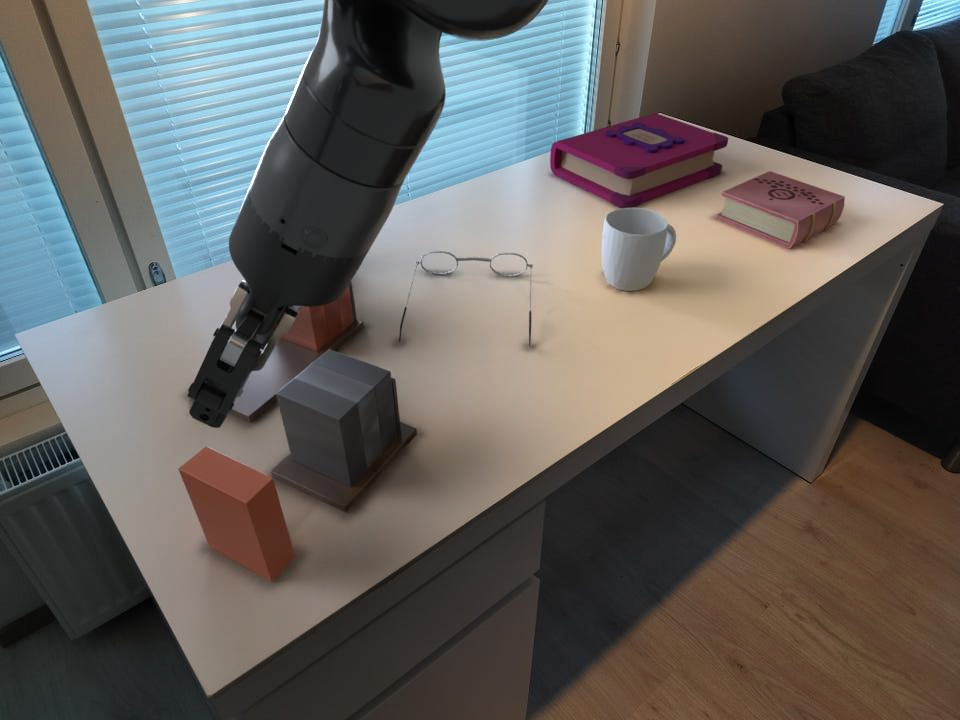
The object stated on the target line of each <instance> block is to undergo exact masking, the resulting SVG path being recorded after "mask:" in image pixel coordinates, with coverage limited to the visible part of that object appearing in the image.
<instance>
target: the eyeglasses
mask: <svg viewBox="0 0 960 720" xmlns="http://www.w3.org/2000/svg"><path fill="white" fill-rule="evenodd" d="M429 254H446V255H449V256H452V258H454V260H455V261H456V266H455V267H454V268H453V269H452V270H449V271H444V272H437V271H433V270H432V271H431V270H429V269H426V268H425V267H424V265H423V259H424V257H425V256H427V255H429ZM504 255H505V256H507V255H510V256H517V257H519V258H522V259H523V261H524V262H525V263H526V266H525V268H524V270H523V271H521V272H519V273H513V274H505V273H500V272H499V271H496V270H495V269H494V268H493V267H492V261H493V260H494V259H495V258H497V257H499V256H504ZM464 261H465V262H467V261H477V262H489V268H490V269H491V271H492V272H493V273H495V274H497V275H498V276H503V277H516V276H517V277H519V276H521V275H522V274H524V273H526V271H527V270H528V268H530V269H529V270H530V271H529V310H528V311H529V312H528V347H529V348H530V347H531V341H532V340H531V337H532V269H533V266H534V264H532V263H530V264H529V263H528V260H527V258H526V257H525V256H524V255H522V254H519V253H515V252H501V253H500V252H499V253H497V254H495V255H493V256H492V257H491V258H489V257H479V256H465V257H464V256H462V257H457V256H456V255H454V254H453V253H451V252H450V251H444V250H430V251H428V252H426V253H424V254H422V256H421V257H420V260H416V261H415V262H414V263H415V267H414V268H415V269H414V272H413V275H412V281H411V283H410V287H409V292H408V295H407V300H406V303H405V306H404V308H403V312H402V316H401V321H400V324H399V337H398V341H399V343H401V339H402V331H403V325H404V321H405V316H406V313H407V310H408V309H407V307H408V303H409V298H410V295H411V290H412V286H413V284H414V279H415V274H416V271H417V267H418V266H419V265H420V266H421V268H422V269H423V271H425V272H427V273H429V274H433V275H447V274H450V273H453V272H454V271H456V270H457V268H458V266H459V262H464Z"/></svg>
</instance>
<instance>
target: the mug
mask: <svg viewBox="0 0 960 720" xmlns="http://www.w3.org/2000/svg"><path fill="white" fill-rule="evenodd" d="M601 235H602V236H601V263H602V271H603V274H604V277H605V280H606V282H607V283H608V284H609V285H610V286H612V287H613V288H615V289H617V290H619V291H625V292H636V291H640V290H644V289H645V288H648V286H649V285H650V284H651V283H652V282H653V280H654V279H655V277H656V276H657V272H658V270H659V268H660V265H661V263H662V262H663V261H664V260H665V259H667V258H668V257H669V256H670V254H671V253H672V252H673V249H674V248H675V245H676V242H677V233H676V229H675V228H674V227H673V225H671V224H670V223H668V220H667V219H666V218H665V217H664V216H663V215H662V214H660V213H658V212H656V211H654V210H651V209H649V208H644V207H632V208H618V209H614V210H612V211H609V212H608V213H607V214H606V216H605V218H604V221H603V228H602V234H601Z"/></svg>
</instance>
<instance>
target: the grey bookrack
mask: <svg viewBox="0 0 960 720" xmlns="http://www.w3.org/2000/svg"><path fill="white" fill-rule="evenodd" d="M391 373H392V372H391V370H388V369H385V368H383V367H380V366H377V365H374V364H372V363H369V362H367V361H364V360H361V359H359V358H355V357H353V356H350V355H347V354H344V353H342V352H339V351H334V350H331V349H329V350H328V351H326V352H325V353H324V354H323V355H322V356H320V357H319V358H318V359H317V360H316V361H314V362H313V363H312V364H311V365H310V366H308V367H307V368H306V369H305V370H304V371H302V372H301V373H300V374H299V375H298V376H296V377H295V378H294V379H293V380H291V381H290V382H289V383H288V384H287V385H285V386H284V387H283V388H282V389H281V390H279V391H278V392H277V393H276V397H277V401H276V402H277V405H278V408H279V413H280V417H281V421H282V425H283V428H284V433H285V436H286V441H287V445H288V449H289V453H288V454H287V455H286V456H284V458H283V459H282V460H281V461H279V462H278V463H277V465H275V466H274V467H273V468H271V470H270V474H271V477H272V478H273V479H274V480H276V481H279V482H281V483H283V484H285V485H287V486H289V487H292V488H293V489H296V490H298V491H299V492H301V493H304V494H306V495H308V496H310V497H313V498H314V499H317V500H319V501H321V502H323V503H325V504H327V505H329V506H331V507H333V508H335V509H337V510H340V511H341V512H343V513H346V514H347V513H348V512H349V511H350V509H352V508H353V506H354V505H355V504H356V503H357V502H358V501H359V500H360V499H361V498H362V497H363V495H364V494H365V493H366V492H367V491H368V490H369V488H370V487H372V485H374V483H375V482H376V481H377V480H378V478H380V476H381V475H382V474H383V473H384V472H385V471H386V470H387V469H388V467H389V466H390V465H391V464H393V462H394V461H395V460H396V459H397V457H399V455H400V454H401V453H402V452H403V451H404V450H405V448H407V446H408V445H409V444H410V443H411V442H412V441H413V440H414V439H415V438H416V436H417V435H418V429H417V427H414V426H413V425H410V424H408V423H405V422H402V421H401V418H400V409H399V400H398V399H399V398H398V389H397V380H396V378H394V377H392V374H391Z"/></svg>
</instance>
